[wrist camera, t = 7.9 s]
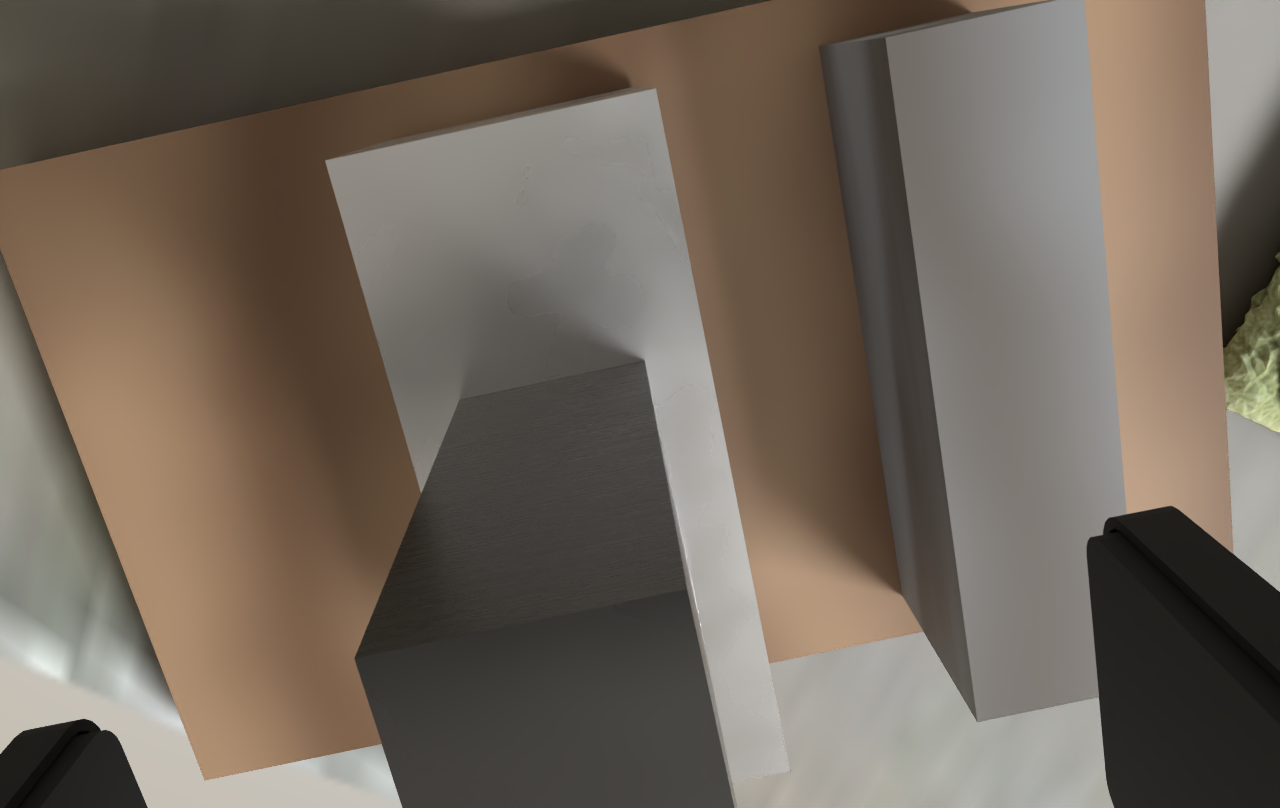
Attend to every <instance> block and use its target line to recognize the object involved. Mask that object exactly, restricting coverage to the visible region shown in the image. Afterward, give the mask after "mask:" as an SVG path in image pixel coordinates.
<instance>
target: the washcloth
mask: <svg viewBox="0 0 1280 808" xmlns="http://www.w3.org/2000/svg"><path fill="white" fill-rule="evenodd" d="M1275 258H1276V259H1277V260H1278V261H1279V262H1280V252H1279V253H1278V254H1277V255H1276V257H1275ZM1236 332H1237V334H1235V336H1234V337H1233V338H1232V339H1231V341H1230V342H1229V343H1228V345H1227V347H1225V348H1223V361H1224V380H1225V400H1226V409H1227V410H1230V411H1234V412H1237V413H1238V414H1240V415H1241V416H1243V417H1245V418H1248V419H1250V420H1252V421H1254V422H1257V423H1259V424H1261V425H1264V426H1266V427H1267V428H1269V429H1270V430H1272V431H1277V432H1280V266H1279V267H1278V268H1277V269H1276V271H1275V273H1274V276H1273V278H1272V280H1271V282H1270V283H1269V285H1268V286H1267V287H1266V288H1264V289H1262V290H1261V291H1259V292H1258V293H1256V294H1255V295H1254V296H1253V297H1252V299H1251V308H1250V309H1249V312H1248V313H1247V314H1245V321H1244V324H1243V325H1242V326H1240V327H1239V328H1237V329H1236Z"/></svg>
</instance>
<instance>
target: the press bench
mask: <svg viewBox="0 0 1280 808" xmlns="http://www.w3.org/2000/svg"><path fill="white" fill-rule="evenodd" d="M639 85H643V86H648V87H652V88H656V91H657V96H658V102H659V107H660V112H661V117H662V122H663V127H664V132H665V137H666V142H667V147H668V152H669V158H670V163H671V168H672V173H673V178H674V183H675V188H676V193H677V198H678V203H679V208H680V213H681V219H682V224H683V229H684V234H685V239H686V244H687V249H688V254H689V259H690V264H691V269H692V275H693V280H694V285H695V290H696V295H697V300H698V305H699V310H700V315H701V320H702V325H703V330H704V336H705V341H706V346H707V351H708V356H709V361H710V366H711V371H712V376H713V381H714V386H715V392H716V397H717V402H718V407H719V412H720V417H721V422H722V427H723V432H724V437H725V442H726V447H727V453H728V458H729V463H730V468H731V473H732V478H733V483H734V488H735V493H736V498H737V503H738V509H739V514H740V519H741V524H742V529H743V534H744V539H745V544H746V549H747V554H748V559H749V564H750V570H751V575H752V580H753V585H754V590H755V595H756V600H757V605H758V610H759V615H760V620H761V626H762V631H763V636H764V641H765V646H766V651H767V656H768V661H769V663H773V662H778V661H783V660H788V659H793V658H798V657H802V656H807V655H812V654H817V653H822V652H826V651H831V650H836V649H841V648H846V647H851V646H855V645H860V644H865V643H870V642H875V641H880V640H884V639H889V638H894V637H899V636H904V635H908V634H913V633H918V632H923V631H924V633H925V635H926V636H927V638H928V640H929V641H930V643H931V645H932V646H933V648H934V650H935V651H936V653H937V655H938V657H939V658H940V660H941V662H942V663H943V665H944V667H945V668H946V670H947V672H948V673H949V675H950V677H951V678H952V680H953V682H954V683H955V685H956V687H957V688H958V690H959V692H960V693H961V695H962V697H963V698H964V700H965V702H966V704H967V705H968V707H969V709H970V710H971V712H972V714H973V715H974V717H975V719H976V720H977V722H980V721H985V720H990V719H995V718H1000V717H1005V716H1009V715H1014V714H1019V713H1024V712H1029V711H1034V710H1039V709H1044V708H1048V707H1053V706H1058V705H1063V704H1068V703H1073V702H1078V701H1082V700H1087V699H1092V698H1097V697H1099V691H1098V679H1097V668H1096V657H1095V645H1094V634H1093V623H1092V611H1091V600H1090V589H1089V577H1088V566H1087V549H1086V547H1087V542H1088V540H1089V538H1090V537H1094V536H1099V535H1103V529H1104V524H1105V522H1106V520H1107V519H1108V518H1110V517H1115V516H1120V515H1125V514H1130V513H1135V512H1140V511H1146V510H1151V509H1156V508H1161V507H1166V506H1173V507H1175V508H1177V509H1179V510H1180V511H1181V512H1182V513H1184V514H1185V515H1186V516H1187V517H1189V518H1190V519H1191V520H1192V521H1193V522H1195V523H1196V524H1197V525H1198V526H1200V527H1201V528H1202V529H1203V530H1204V531H1206V532H1207V533H1208V534H1209V535H1211V536H1212V537H1213V538H1214V539H1215V540H1217V541H1218V542H1219V543H1220V544H1222V545H1223V546H1224V547H1225V548H1226V549H1228V550H1229V551H1230V552H1231V553H1233V536H1232V517H1231V497H1230V478H1229V458H1228V439H1227V419H1226V400H1225V380H1224V361H1223V341H1222V322H1221V302H1220V283H1219V263H1218V244H1217V224H1216V205H1215V185H1214V166H1213V146H1212V126H1211V107H1210V87H1209V68H1208V48H1207V29H1206V9H1205V0H771V1H766V2H762V3H757V4H753V5H748V6H743V7H739V8H734V9H730V10H725V11H721V12H716V13H712V14H707V15H702V16H698V17H693V18H689V19H684V20H680V21H675V22H671V23H666V24H661V25H657V26H652V27H648V28H643V29H639V30H634V31H630V32H625V33H620V34H616V35H611V36H607V37H602V38H598V39H593V40H589V41H584V42H579V43H575V44H570V45H566V46H561V47H557V48H552V49H548V50H543V51H538V52H534V53H529V54H525V55H520V56H516V57H511V58H507V59H502V60H497V61H493V62H488V63H484V64H479V65H475V66H470V67H466V68H461V69H456V70H452V71H447V72H443V73H438V74H434V75H429V76H425V77H420V78H415V79H411V80H406V81H402V82H397V83H393V84H388V85H384V86H379V87H374V88H370V89H365V90H361V91H356V92H352V93H347V94H343V95H338V96H333V97H329V98H324V99H320V100H315V101H311V102H306V103H302V104H297V105H292V106H288V107H283V108H279V109H274V110H270V111H265V112H261V113H256V114H251V115H247V116H242V117H238V118H233V119H229V120H224V121H220V122H215V123H210V124H206V125H201V126H197V127H192V128H188V129H183V130H179V131H174V132H169V133H165V134H160V135H156V136H151V137H147V138H142V139H138V140H133V141H128V142H124V143H119V144H115V145H110V146H106V147H101V148H97V149H92V150H87V151H83V152H78V153H74V154H69V155H65V156H60V157H56V158H51V159H46V160H42V161H37V162H33V163H28V164H24V165H19V166H15V167H10V168H5V169H1V170H0V250H1V253H2V255H3V258H4V260H5V263H6V266H7V268H8V271H9V273H10V276H11V279H12V281H13V284H14V286H15V289H16V292H17V294H18V297H19V299H20V302H21V305H22V307H23V310H24V312H25V315H26V318H27V320H28V323H29V325H30V328H31V331H32V333H33V336H34V338H35V341H36V344H37V346H38V349H39V351H40V354H41V357H42V359H43V362H44V364H45V367H46V370H47V372H48V375H49V377H50V380H51V383H52V385H53V388H54V390H55V393H56V396H57V398H58V401H59V403H60V406H61V408H62V411H63V414H64V416H65V419H66V421H67V424H68V427H69V429H70V432H71V434H72V437H73V440H74V442H75V445H76V447H77V450H78V453H79V455H80V458H81V460H82V463H83V466H84V468H85V471H86V473H87V476H88V479H89V481H90V484H91V486H92V489H93V492H94V494H95V497H96V499H97V502H98V505H99V507H100V510H101V512H102V515H103V518H104V520H105V523H106V525H107V528H108V531H109V533H110V536H111V538H112V541H113V544H114V546H115V549H116V551H117V554H118V557H119V559H120V562H121V564H122V567H123V570H124V572H125V575H126V577H127V580H128V583H129V585H130V588H131V590H132V593H133V596H134V598H135V601H136V603H137V606H138V609H139V611H140V614H141V616H142V619H143V621H144V624H145V627H146V629H147V632H148V634H149V637H150V640H151V642H152V645H153V647H154V650H155V653H156V655H157V658H158V660H159V663H160V666H161V668H162V671H163V673H164V676H165V679H166V681H167V684H168V686H169V689H170V692H171V694H172V697H173V699H174V702H175V705H176V707H177V710H178V712H179V715H180V718H181V720H182V723H183V725H184V728H185V731H186V733H187V736H188V738H189V741H190V744H191V746H192V749H193V751H194V754H195V756H196V759H197V761H198V764H199V767H200V770H201V772H202V774H203V777H204V780H209V779H214V778H219V777H224V776H229V775H233V774H238V773H243V772H248V771H252V770H257V769H262V768H267V767H272V766H277V765H282V764H286V763H291V762H296V761H301V760H306V759H311V758H315V757H320V756H325V755H330V754H335V753H340V752H344V751H349V750H354V749H359V748H364V747H368V746H373V745H378V744H382V743H381V740H380V736H379V733H378V730H377V727H376V724H375V721H374V718H373V715H372V712H371V709H370V706H369V703H368V699H367V696H366V693H365V690H364V687H363V684H362V681H361V678H360V675H359V672H358V669H357V666H356V662H355V659H354V658H355V656H356V653H357V651H358V648H359V646H360V643H361V641H362V638H363V636H364V633H365V631H366V628H367V626H368V624H369V621H370V619H371V616H372V614H373V611H374V609H375V606H376V604H377V601H378V599H379V596H380V594H381V592H382V589H383V587H384V584H385V582H386V579H387V577H388V574H389V572H390V569H391V567H392V564H393V562H394V560H395V557H396V555H397V552H398V550H399V547H400V545H401V542H402V540H403V537H404V535H405V532H406V530H407V527H408V525H409V523H410V520H411V518H412V515H413V513H414V510H415V508H416V505H417V503H418V500H419V498H420V495H421V491H420V488H419V484H418V481H417V477H416V474H415V470H414V467H413V463H412V460H411V456H410V453H409V449H408V446H407V443H406V439H405V436H404V432H403V429H402V425H401V422H400V418H399V415H398V411H397V408H396V405H395V401H394V398H393V394H392V391H391V387H390V384H389V380H388V377H387V373H386V370H385V366H384V363H383V360H382V356H381V353H380V349H379V346H378V342H377V339H376V335H375V332H374V328H373V325H372V321H371V318H370V315H369V311H368V308H367V304H366V301H365V297H364V294H363V290H362V287H361V283H360V280H359V276H358V273H357V270H356V266H355V263H354V259H353V256H352V252H351V249H350V245H349V242H348V238H347V235H346V231H345V228H344V225H343V221H342V218H341V214H340V211H339V207H338V204H337V200H336V197H335V193H334V190H333V186H332V183H331V180H330V176H329V173H328V169H327V166H326V162H325V160H329V159H332V158H335V157H338V156H341V155H344V154H347V153H350V152H353V151H356V150H359V149H362V148H365V147H369V146H372V145H375V144H378V143H381V142H384V141H387V140H392V139H397V138H401V137H406V136H410V135H415V134H420V133H424V132H429V131H433V130H438V129H442V128H447V127H452V126H456V125H461V124H465V123H470V122H474V121H479V120H484V119H488V118H493V117H497V116H502V115H506V114H511V113H516V112H520V111H525V110H529V109H534V108H539V107H543V106H548V105H552V104H557V103H561V102H566V101H571V100H575V99H580V98H584V97H589V96H593V95H598V94H603V93H607V92H612V91H616V90H621V89H625V88H630V87H635V86H639Z"/></svg>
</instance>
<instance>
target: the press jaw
mask: <svg viewBox="0 0 1280 808" xmlns="http://www.w3.org/2000/svg"><path fill="white" fill-rule="evenodd" d="M325 162H326V166H327V169H328V173H329V176H330V180H331V183H332V186H333V190H334V193H335V197H336V200H337V204H338V207H339V211H340V214H341V218H342V221H343V225H344V228H345V231H346V235H347V238H348V242H349V245H350V249H351V252H352V256H353V259H354V263H355V266H356V270H357V273H358V276H359V280H360V283H361V287H362V290H363V294H364V297H365V301H366V304H367V308H368V311H369V315H370V318H371V321H372V325H373V328H374V332H375V335H376V339H377V342H378V346H379V349H380V353H381V356H382V360H383V363H384V366H385V370H386V373H387V377H388V380H389V384H390V387H391V391H392V394H393V398H394V401H395V405H396V408H397V411H398V415H399V418H400V422H401V425H402V429H403V432H404V436H405V439H406V443H407V446H408V449H409V453H410V456H411V460H412V463H413V467H414V470H415V474H416V477H417V481H418V484H419V488H420V491H421V495H420V498H419V500H418V503H417V505H416V508H415V510H414V513H413V515H412V518H411V520H410V523H409V525H408V527H407V530H406V532H405V535H404V537H403V540H402V542H401V545H400V547H399V550H398V552H397V555H396V557H395V560H394V562H393V564H392V567H391V569H390V572H389V574H388V577H387V579H386V582H385V584H384V587H383V589H382V592H381V594H380V596H379V599H378V601H377V604H376V606H375V609H374V611H373V614H372V616H371V619H370V621H369V624H368V626H367V628H366V631H365V633H364V636H363V638H362V641H361V643H360V646H359V648H358V651H357V653H356V656H355V658H354V659H355V662H356V666H357V669H358V672H359V675H360V678H361V681H362V684H363V687H364V690H365V693H366V696H367V699H368V703H369V706H370V709H371V712H372V715H373V718H374V721H375V724H376V727H377V730H378V733H379V736H380V740H381V743H382V746H383V749H384V752H385V755H386V758H387V761H388V764H389V767H390V770H391V773H392V777H393V780H394V783H395V786H396V789H397V792H398V795H399V798H400V801H401V804H402V807H403V808H737V804H736V799H735V794H734V789H733V784H732V783H735V782H740V781H745V780H750V779H755V778H760V777H765V776H770V775H774V774H779V773H784V772H789V771H790V768H789V763H788V758H787V753H786V748H785V743H784V737H783V732H782V727H781V722H780V717H779V712H778V707H777V702H776V697H775V692H774V687H773V681H772V676H771V671H770V666H769V661H768V656H767V651H766V646H765V641H764V636H763V631H762V626H761V620H760V615H759V610H758V605H757V600H756V595H755V590H754V585H753V580H752V575H751V570H750V564H749V559H748V554H747V549H746V544H745V539H744V534H743V529H742V524H741V519H740V514H739V509H738V503H737V498H736V493H735V488H734V483H733V478H732V473H731V468H730V463H729V458H728V453H727V447H726V442H725V437H724V432H723V427H722V422H721V417H720V412H719V407H718V402H717V397H716V392H715V386H714V381H713V376H712V371H711V366H710V361H709V356H708V351H707V346H706V341H705V336H704V330H703V325H702V320H701V315H700V310H699V305H698V300H697V295H696V290H695V285H694V280H693V275H692V269H691V264H690V259H689V254H688V249H687V244H686V239H685V234H684V229H683V224H682V219H681V213H680V208H679V203H678V198H677V193H676V188H675V183H674V178H673V173H672V168H671V163H670V158H669V152H668V147H667V142H666V137H665V132H664V127H663V122H662V117H661V112H660V107H659V102H658V96H657V91H656V88H652V87H648V86H643V85H639V86H635V87H630V88H625V89H621V90H616V91H612V92H607V93H603V94H598V95H593V96H589V97H584V98H580V99H575V100H571V101H566V102H561V103H557V104H552V105H548V106H543V107H539V108H534V109H529V110H525V111H520V112H516V113H511V114H506V115H502V116H497V117H493V118H488V119H484V120H479V121H474V122H470V123H465V124H461V125H456V126H452V127H447V128H442V129H438V130H433V131H429V132H424V133H420V134H415V135H410V136H406V137H401V138H397V139H392V140H387V141H384V142H381V143H378V144H375V145H372V146H369V147H365V148H362V149H359V150H356V151H353V152H350V153H347V154H344V155H341V156H338V157H335V158H332V159H329V160H325Z"/></svg>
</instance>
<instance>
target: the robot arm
mask: <svg viewBox="0 0 1280 808" xmlns="http://www.w3.org/2000/svg"><path fill="white" fill-rule="evenodd" d="M1086 549H1087V566H1088V577H1089V589H1090V600H1091V611H1092V623H1093V634H1094V645H1095V657H1096V668H1097V679H1098V691H1099V702H1100V713H1101V725H1102V736H1103V747H1104V759H1105V770H1106V779H1107V785H1108V789H1109V793H1110V796H1111V799H1112V802H1113V805H1114V808H1280V592H1279V591H1278V590H1277V589H1275V588H1274V587H1273V586H1272V585H1270V584H1269V583H1268V582H1267V581H1266V580H1264V579H1263V578H1262V577H1261V576H1259V575H1258V574H1257V573H1256V572H1255V571H1253V570H1252V569H1251V568H1250V567H1248V566H1247V565H1246V564H1245V563H1244V562H1242V561H1241V560H1240V559H1239V558H1237V557H1236V556H1235V555H1234V554H1233V553H1231V552H1230V551H1229V550H1228V549H1226V548H1225V547H1224V546H1223V545H1222V544H1220V543H1219V542H1218V541H1217V540H1215V539H1214V538H1213V537H1212V536H1211V535H1209V534H1208V533H1207V532H1206V531H1204V530H1203V529H1202V528H1201V527H1200V526H1198V525H1197V524H1196V523H1195V522H1193V521H1192V520H1191V519H1190V518H1189V517H1187V516H1186V515H1185V514H1184V513H1182V512H1181V511H1180V510H1179V509H1177V508H1175V507H1173V506H1166V507H1161V508H1156V509H1151V510H1146V511H1140V512H1135V513H1130V514H1125V515H1120V516H1115V517H1110V518H1108V519H1107V520H1106V522H1105V524H1104V529H1103V535H1099V536H1094V537H1090V538H1089V540H1088V542H1087V547H1086ZM0 808H147V805H146V803H145V800H144V798H143V796H142V793H141V791H140V788H139V786H138V784H137V781H136V779H135V777H134V774H133V772H132V769H131V767H130V765H129V762H128V760H127V758H126V756H125V753H124V751H123V748H122V746H121V744H120V742H119V740H118V738H117V737H116V736H115V735H114V734H113V733H112V732H110V731H107V730H103V731H101V730H100V728H99V727H98V726H97V725H96V724H95V723H93V722H92V721H90V720H86V719H81V720H76V721H71V722H66V723H60V724H55V725H50V726H45V727H40V728H35V729H30V730H26V731H23V732H21V733H20V734H19V735H18V736H16V737H15V738H14V739H13V740H12V741H11V743H10V744H9V745H8V746H7V747H6V748H5V750H4V751H3V752H2V753H1V754H0Z"/></svg>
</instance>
